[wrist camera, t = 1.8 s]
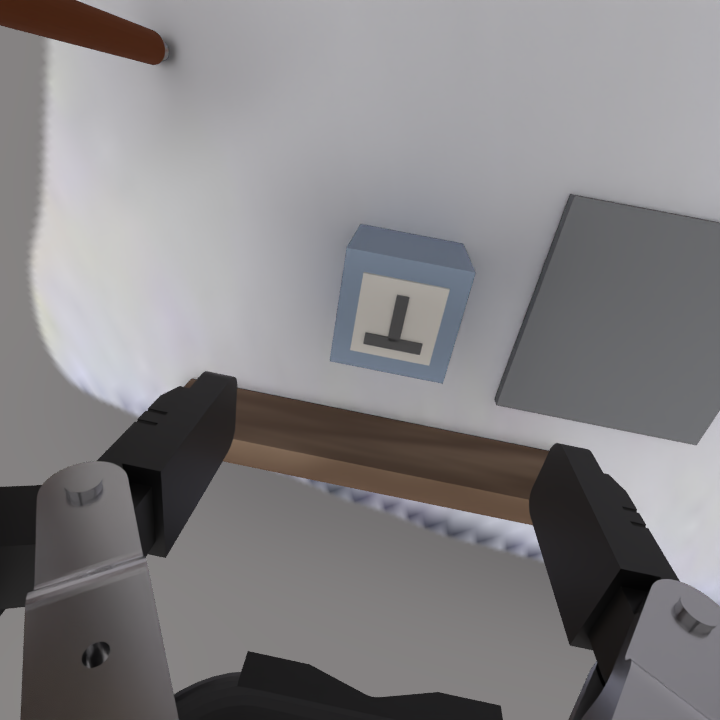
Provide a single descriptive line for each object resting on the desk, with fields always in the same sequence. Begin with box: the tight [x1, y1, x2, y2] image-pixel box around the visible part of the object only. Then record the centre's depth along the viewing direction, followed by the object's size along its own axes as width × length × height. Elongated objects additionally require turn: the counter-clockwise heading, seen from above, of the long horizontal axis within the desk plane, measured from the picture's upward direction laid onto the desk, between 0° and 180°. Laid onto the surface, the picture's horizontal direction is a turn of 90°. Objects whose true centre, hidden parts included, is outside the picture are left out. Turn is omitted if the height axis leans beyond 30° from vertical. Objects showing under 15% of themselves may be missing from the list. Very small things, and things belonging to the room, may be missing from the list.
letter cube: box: [330, 224, 476, 384], centre depth 20 cm, size 5×5×5 cm
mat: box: [495, 194, 720, 445], centre depth 22 cm, size 11×11×1 cm
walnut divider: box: [184, 379, 549, 525], centre depth 25 cm, size 2×22×4 cm, turn 80°
